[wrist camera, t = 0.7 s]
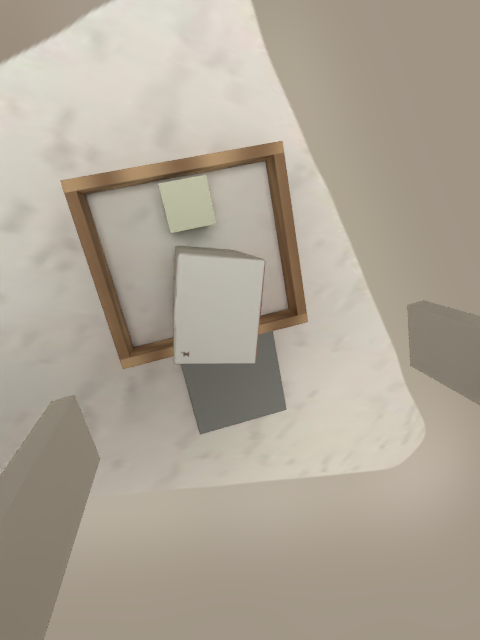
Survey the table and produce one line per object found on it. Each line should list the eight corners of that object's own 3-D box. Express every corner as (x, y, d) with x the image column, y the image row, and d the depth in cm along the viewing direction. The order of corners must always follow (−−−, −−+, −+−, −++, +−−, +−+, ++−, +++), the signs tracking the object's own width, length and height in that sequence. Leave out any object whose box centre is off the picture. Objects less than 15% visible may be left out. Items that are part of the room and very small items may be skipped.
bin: (126, 358, 36) (122, 369, 33) (70, 185, 31) (60, 180, 28) (298, 315, 39) (307, 322, 36) (273, 148, 34) (282, 140, 31)
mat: (199, 431, 40) (200, 434, 40) (177, 349, 37) (177, 351, 37) (284, 407, 42) (286, 409, 41) (270, 326, 39) (271, 327, 38)
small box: (229, 321, 37) (256, 366, 25) (172, 319, 36) (171, 366, 24) (234, 248, 35) (267, 258, 23) (174, 244, 34) (174, 252, 22)
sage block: (171, 232, 34) (170, 233, 28) (160, 191, 33) (158, 183, 27) (209, 224, 34) (216, 223, 29) (200, 183, 33) (205, 174, 27)
